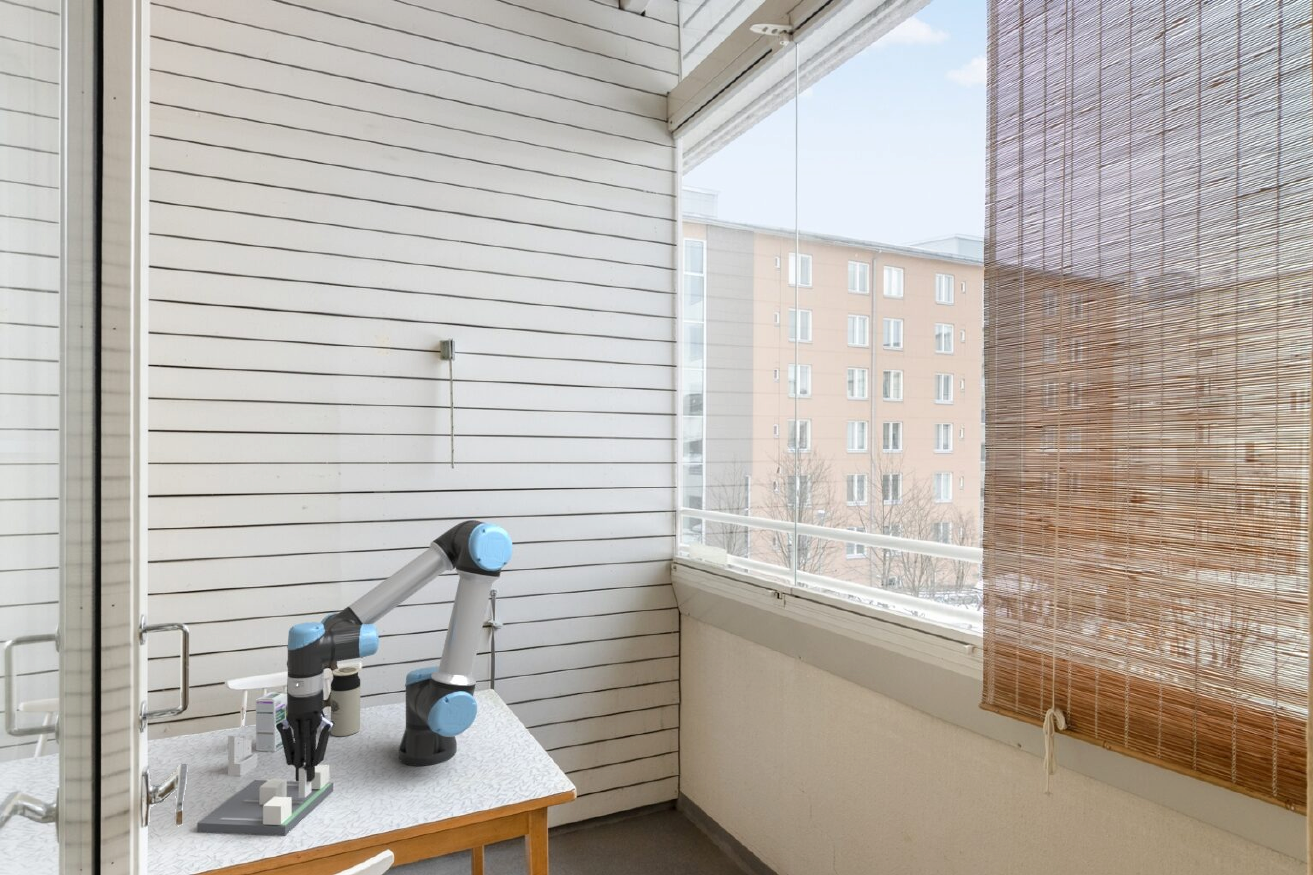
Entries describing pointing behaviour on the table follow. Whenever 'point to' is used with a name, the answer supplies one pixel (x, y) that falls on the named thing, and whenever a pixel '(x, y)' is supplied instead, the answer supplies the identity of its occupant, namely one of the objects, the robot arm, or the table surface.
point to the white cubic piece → (320, 777)
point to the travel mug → (345, 701)
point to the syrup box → (270, 720)
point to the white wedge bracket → (240, 756)
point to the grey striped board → (259, 811)
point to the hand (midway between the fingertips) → (305, 794)
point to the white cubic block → (272, 790)
